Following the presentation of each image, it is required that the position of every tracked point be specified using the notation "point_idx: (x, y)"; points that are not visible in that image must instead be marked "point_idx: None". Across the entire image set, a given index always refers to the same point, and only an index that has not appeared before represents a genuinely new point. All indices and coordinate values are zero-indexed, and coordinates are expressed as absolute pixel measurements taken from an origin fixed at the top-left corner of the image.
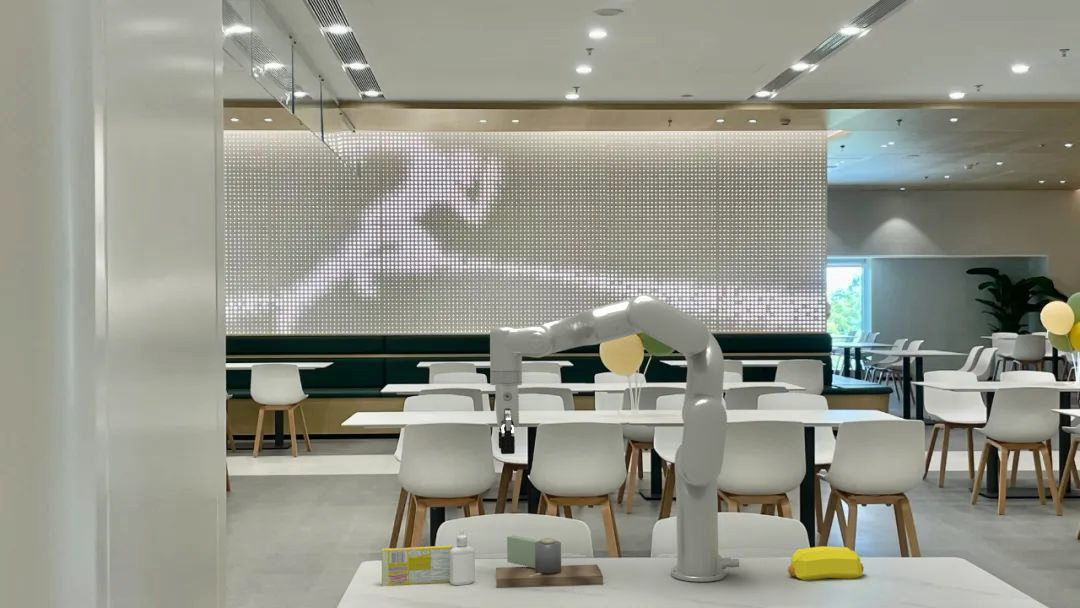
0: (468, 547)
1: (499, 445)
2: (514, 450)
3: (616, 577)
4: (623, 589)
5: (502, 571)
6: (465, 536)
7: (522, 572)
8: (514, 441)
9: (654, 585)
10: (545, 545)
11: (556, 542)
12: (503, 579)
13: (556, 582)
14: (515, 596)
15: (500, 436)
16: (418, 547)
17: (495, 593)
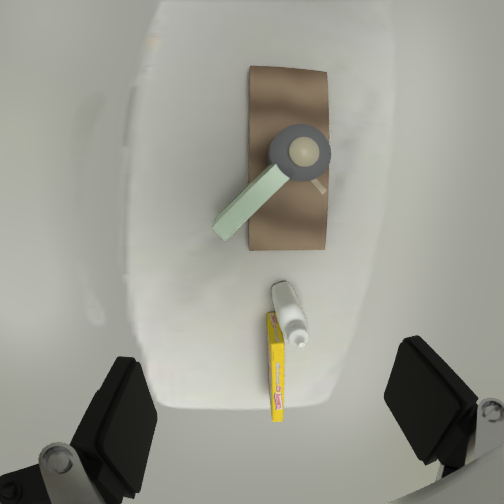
0: (299, 316)
1: (154, 427)
2: (425, 343)
3: (281, 49)
4: (350, 58)
5: (278, 239)
6: (303, 332)
7: (291, 203)
8: (457, 377)
9: (330, 17)
10: (323, 160)
11: (298, 132)
12: (325, 238)
13: None
14: (368, 219)
15: (140, 469)
16: (276, 387)
17: (348, 248)
